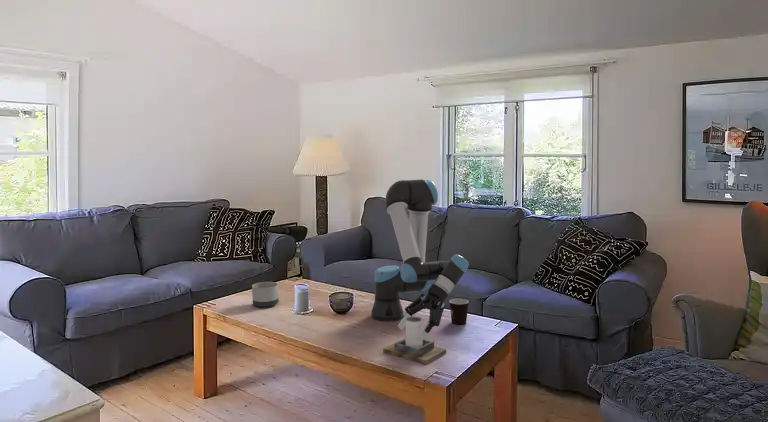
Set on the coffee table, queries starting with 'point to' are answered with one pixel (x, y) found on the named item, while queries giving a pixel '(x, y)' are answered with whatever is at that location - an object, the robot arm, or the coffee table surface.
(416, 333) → the can
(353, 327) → the coffee table surface
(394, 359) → the coffee table surface
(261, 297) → the planter
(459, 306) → the coffee mug
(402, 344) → the wooden board with frame
